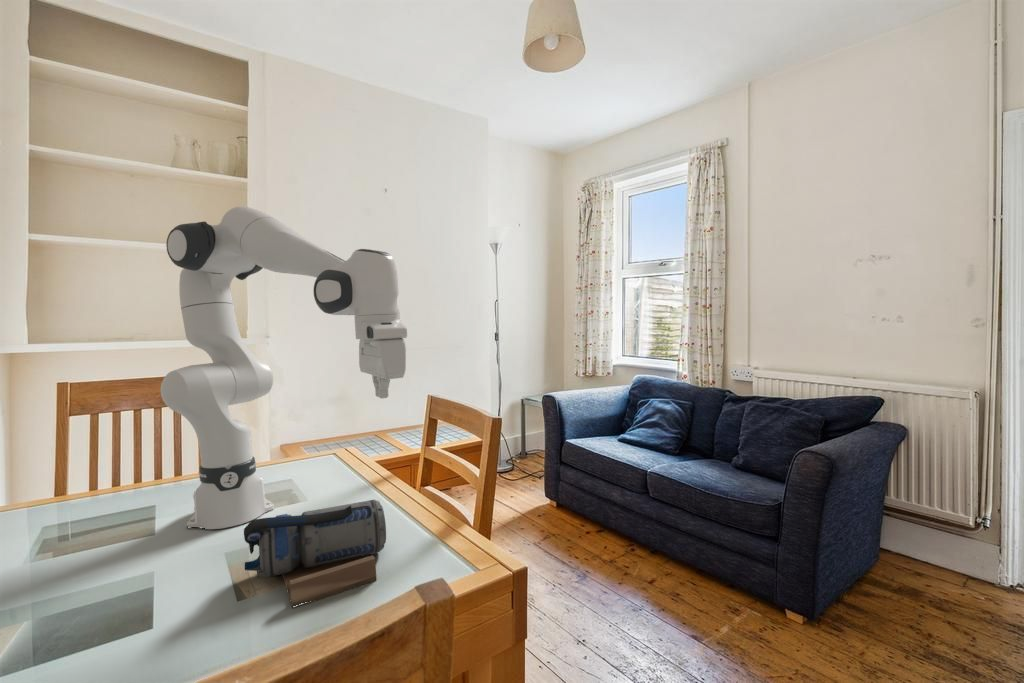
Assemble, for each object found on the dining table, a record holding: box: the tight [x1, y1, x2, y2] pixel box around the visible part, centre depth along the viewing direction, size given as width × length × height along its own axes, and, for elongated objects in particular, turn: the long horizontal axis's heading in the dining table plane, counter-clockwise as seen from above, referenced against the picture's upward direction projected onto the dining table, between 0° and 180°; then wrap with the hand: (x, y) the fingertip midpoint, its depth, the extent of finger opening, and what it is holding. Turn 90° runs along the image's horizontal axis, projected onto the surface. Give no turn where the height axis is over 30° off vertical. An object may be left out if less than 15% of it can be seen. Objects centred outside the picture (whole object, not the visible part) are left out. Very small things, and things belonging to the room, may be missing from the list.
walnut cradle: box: [281, 554, 378, 608], centre depth 91 cm, size 19×14×4 cm
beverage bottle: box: [243, 499, 387, 579], centre depth 92 cm, size 10×13×25 cm
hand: (382, 397), depth 97 cm, fingers closed
